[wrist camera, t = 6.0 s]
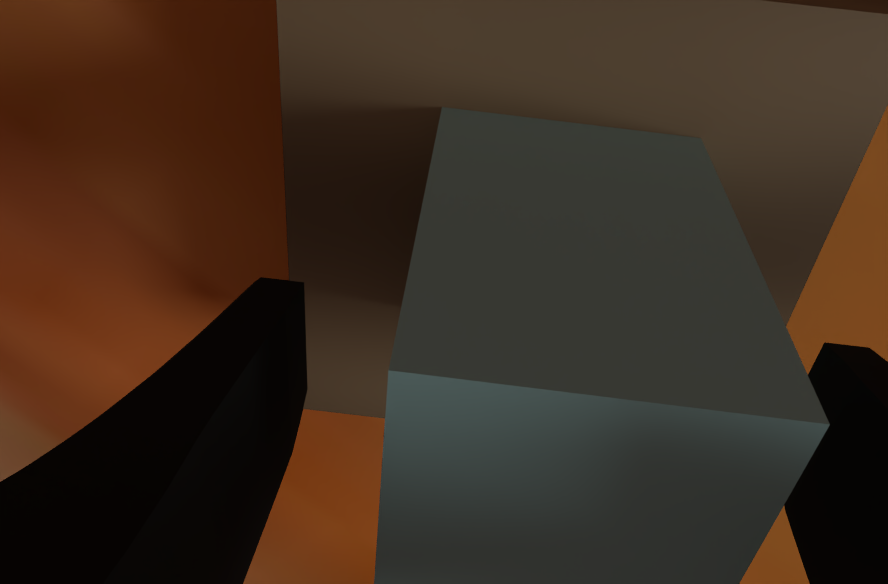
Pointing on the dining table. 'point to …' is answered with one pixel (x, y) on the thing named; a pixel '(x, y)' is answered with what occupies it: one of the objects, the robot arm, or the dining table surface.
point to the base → (560, 99)
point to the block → (584, 367)
